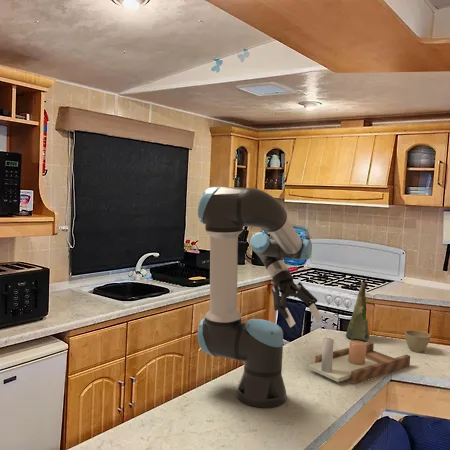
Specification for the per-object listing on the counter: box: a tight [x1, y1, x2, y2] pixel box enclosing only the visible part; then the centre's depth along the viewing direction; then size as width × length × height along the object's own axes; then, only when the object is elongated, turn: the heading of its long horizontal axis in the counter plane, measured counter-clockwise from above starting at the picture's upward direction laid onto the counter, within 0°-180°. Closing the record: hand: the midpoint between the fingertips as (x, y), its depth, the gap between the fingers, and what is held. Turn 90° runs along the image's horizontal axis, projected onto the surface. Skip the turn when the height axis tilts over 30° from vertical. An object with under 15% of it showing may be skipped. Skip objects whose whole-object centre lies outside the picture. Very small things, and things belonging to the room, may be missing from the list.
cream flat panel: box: [307, 337, 377, 383], centre depth 171 cm, size 24×14×12 cm, turn 126°
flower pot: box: [404, 329, 431, 353], centre depth 197 cm, size 10×10×7 cm
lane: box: [314, 341, 411, 385], centre depth 177 cm, size 32×18×4 cm, turn 126°
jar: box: [348, 339, 367, 365], centre depth 174 cm, size 6×6×7 cm
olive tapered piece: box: [345, 281, 370, 342], centre depth 209 cm, size 11×12×25 cm
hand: (306, 323), depth 172 cm, fingers open, 13 cm apart
